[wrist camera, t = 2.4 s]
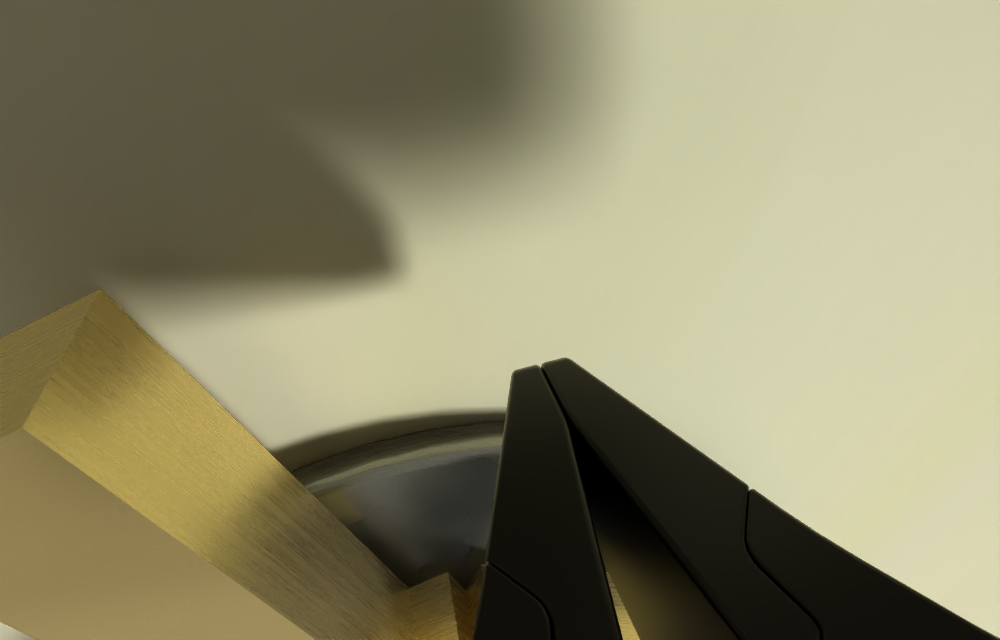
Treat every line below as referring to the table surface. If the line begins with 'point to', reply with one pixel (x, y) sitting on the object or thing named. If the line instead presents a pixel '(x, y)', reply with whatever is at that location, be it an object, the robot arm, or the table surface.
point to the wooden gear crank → (174, 509)
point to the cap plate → (416, 498)
